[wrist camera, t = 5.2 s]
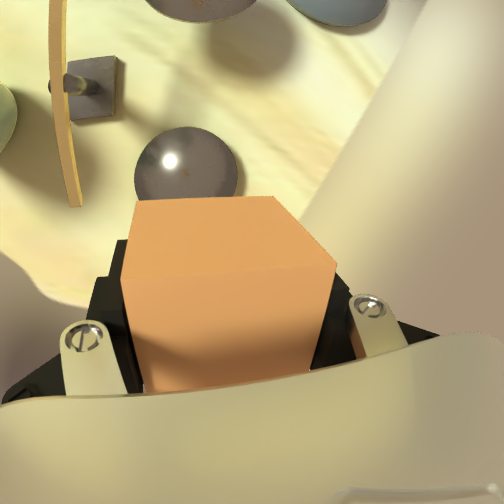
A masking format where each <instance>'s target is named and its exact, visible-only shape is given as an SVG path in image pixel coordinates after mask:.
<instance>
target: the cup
mask: <svg viewBox="0 0 504 504" xmlns="http://www.w3.org/2000/svg"><path fill="white" fill-rule="evenodd" d="M17 114H18V110H17V103H16V100H15V97H14V96H13V94H12V92H11V91H10V90H9V89H8V88H7V87H6V85H4V84H3V83H1V82H0V153H1V151H2V150H3V149H4V148H5V146H6V145H7V143H8V142H9V140H10V138H11V136H12V134H13V132H14V129H15V126H16V122H17Z"/></svg>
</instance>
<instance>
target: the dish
mask: <svg viewBox="0 0 504 504" xmlns="http://www.w3.org/2000/svg"><path fill="white" fill-rule="evenodd" d="M287 1H288V2H289V3H290V4H291V5H292V6H293V7H294V8H295V9H297V10H298V11H299V12H301V13H302V14H304V15H306V16H307V17H309V18H311V19H313V20H315V21H318V22H320V23H324V24H327V25H331V26H339V27H349V26H354V25H359V24H362V23H365V22H368V21H370V20H372V19H374V18H375V17H376V16H378V15H379V13H380V12H381V11H382V9H383V8H384V6H385V3H386V0H287Z"/></svg>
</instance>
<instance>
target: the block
mask: <svg viewBox="0 0 504 504" xmlns="http://www.w3.org/2000/svg"><path fill="white" fill-rule="evenodd" d="M336 267H337V262H336V261H335V260H334V259H333V258H332V257H331V256H330V255H329V254H328V253H327V252H326V250H325V249H324V248H322V246H321V245H320V244H319V243H318V242H317V241H316V240H315V239H314V238H313V237H312V236H311V235H310V234H309V233H308V232H307V230H306V229H305V228H304V227H303V226H302V225H301V224H300V223H299V222H298V221H297V220H296V219H295V218H294V217H293V216H292V215H291V214H290V213H289V212H288V211H287V210H286V209H285V208H284V207H283V206H282V205H281V204H280V203H279V202H278V201H277V200H276V198H275V197H274V196H251V197H209V198H182V199H162V200H144V201H137V202H136V206H135V210H134V215H133V219H132V223H131V228H130V232H129V237H128V242H127V246H126V251H125V257H124V262H123V267H122V273H121V278H120V280H121V286H122V292H123V297H124V302H125V307H126V312H127V317H128V321H129V326H130V331H131V335H132V339H133V343H134V348H135V352H136V356H137V360H138V363H139V367H140V371H141V375H142V378H143V382H144V385H145V389H146V392H147V393H153V392H167V391H178V390H189V389H198V388H207V387H215V386H223V385H230V384H238V383H244V382H251V381H257V380H263V379H269V378H275V377H280V376H285V375H291V374H296V373H301V372H306V371H309V369H310V365H311V362H312V359H313V355H314V352H315V348H316V345H317V341H318V338H319V334H320V330H321V327H322V323H323V319H324V316H325V312H326V308H327V304H328V300H329V296H330V292H331V288H332V284H333V280H334V276H335V271H336Z"/></svg>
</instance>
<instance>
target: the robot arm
mask: <svg viewBox="0 0 504 504" xmlns="http://www.w3.org/2000/svg"><path fill="white" fill-rule="evenodd" d="M127 242H128V239H126V240H117V244H116V247H115V251H114V255H113V259H112V263H111V267H110V271H109V275H108V276H106V277H97V279H96V282H95V286H94V289H93V293H92V297H91V301H90V305H89V309H88V313H87V317H86V320H83V321H79V322H76V323H74V324H72V325H70V326H68V327H67V328H66V329H65V330H64V331H63V333H62V335H61V337H60V351H61V353H60V354H58V355H57V356H55V357H54V358H52V359H51V360H49V361H48V362H46V363H45V364H44V365H42V366H41V367H39V368H38V369H36V370H35V371H33V372H32V373H30V374H29V375H28V376H26V377H25V378H23V379H22V380H20V381H19V382H18V383H16V384H15V385H13V386H12V387H11V388H10V389H9V390H8V391H7V392H6V393H5V395H4V397H3V399H2V403H1V405H0V504H504V345H503V344H502V343H501V342H500V341H498V340H497V339H496V338H494V337H493V336H491V335H488V334H484V333H479V332H459V333H451V334H446V335H442V336H440V335H438V334H435V333H432V332H429V331H426V330H423V329H420V328H417V327H414V326H411V325H408V324H405V323H402V322H400V321H397V320H396V319H395V316H394V314H393V313H392V310H391V309H390V307H389V305H388V304H387V303H386V302H385V301H384V300H382V299H380V298H378V297H376V296H373V295H369V294H358V295H355V296H352V295H351V293H350V292H349V287H348V286H347V285H346V284H345V283H344V281H343V280H342V279H341V278H340V277H339V276H338V274H337V273H336V272H335V276H334V280H333V284H332V288H331V292H330V296H329V300H328V304H327V308H326V312H325V316H324V319H323V323H322V327H321V330H320V334H319V338H318V341H317V345H316V348H315V352H314V355H313V359H312V362H311V365H310V371H306V372H301V373H296V374H291V375H285V376H280V377H275V378H269V379H263V380H257V381H251V382H244V383H238V384H230V385H223V386H215V387H207V388H198V389H189V390H178V391H167V392H153V393H143V384H144V382H143V378H142V375H141V371H140V367H139V363H138V360H137V356H136V352H135V348H134V343H133V339H132V335H131V331H130V326H129V321H128V317H127V312H126V307H125V302H124V297H123V292H122V286H121V280H120V278H121V273H122V267H123V262H124V257H125V251H126V246H127Z"/></svg>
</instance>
